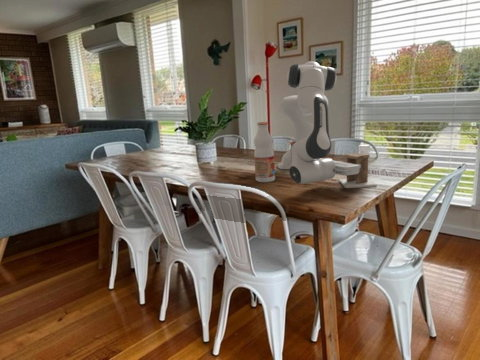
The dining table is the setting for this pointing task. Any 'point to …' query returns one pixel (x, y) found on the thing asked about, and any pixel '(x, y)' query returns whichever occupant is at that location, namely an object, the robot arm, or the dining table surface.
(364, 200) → the dining table surface
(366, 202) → the dining table surface
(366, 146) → the shot glass
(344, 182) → the mat
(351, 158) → the stool
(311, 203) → the dining table surface
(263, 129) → the fruit juice
